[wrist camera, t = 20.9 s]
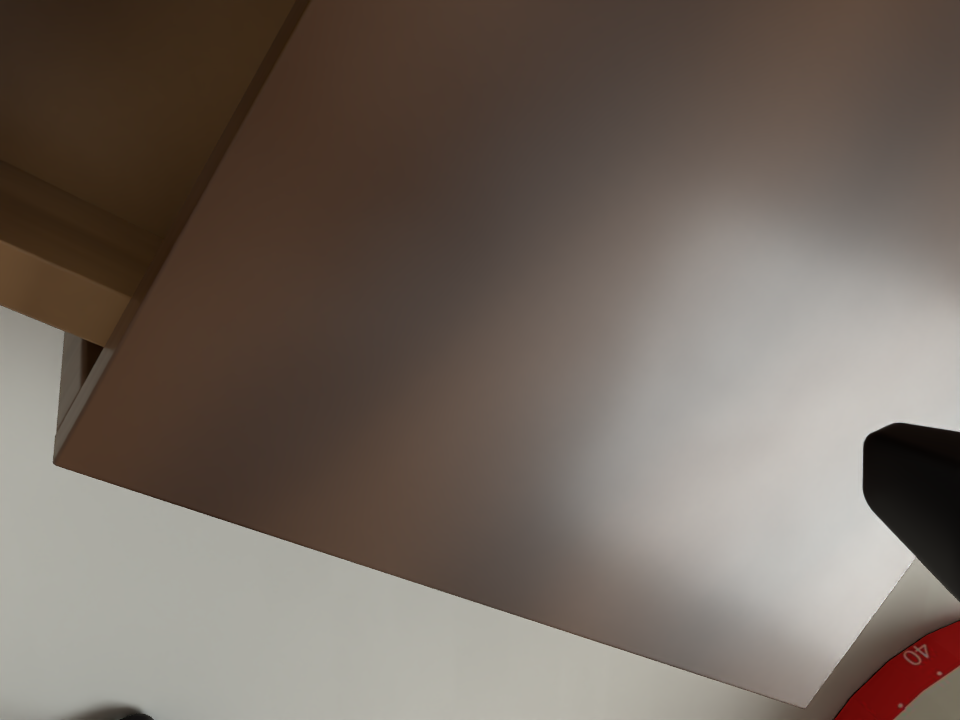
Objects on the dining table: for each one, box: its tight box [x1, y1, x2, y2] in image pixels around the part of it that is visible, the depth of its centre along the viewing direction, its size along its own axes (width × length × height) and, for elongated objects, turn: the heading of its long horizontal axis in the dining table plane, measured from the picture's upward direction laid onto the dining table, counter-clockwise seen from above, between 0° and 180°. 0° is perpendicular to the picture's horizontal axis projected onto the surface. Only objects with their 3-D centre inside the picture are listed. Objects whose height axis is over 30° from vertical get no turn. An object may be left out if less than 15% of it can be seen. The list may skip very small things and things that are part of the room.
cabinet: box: [53, 0, 960, 709], centre depth 17 cm, size 17×14×8 cm
